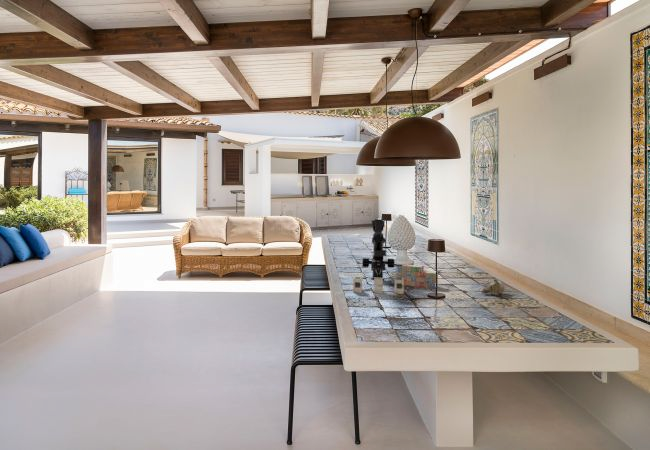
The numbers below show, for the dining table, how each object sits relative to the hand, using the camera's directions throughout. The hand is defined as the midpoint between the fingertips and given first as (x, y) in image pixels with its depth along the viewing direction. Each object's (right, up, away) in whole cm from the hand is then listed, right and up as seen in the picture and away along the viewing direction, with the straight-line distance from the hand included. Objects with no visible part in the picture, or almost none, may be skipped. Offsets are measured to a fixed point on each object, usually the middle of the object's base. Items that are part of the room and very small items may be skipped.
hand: (378, 274), depth 281 cm
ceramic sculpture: (+66, -11, -4) cm, 67 cm away
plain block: (0, -10, +1) cm, 10 cm away
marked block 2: (+12, -10, 0) cm, 16 cm away
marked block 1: (-12, -10, +2) cm, 16 cm away
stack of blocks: (+27, -9, +18) cm, 34 cm away
